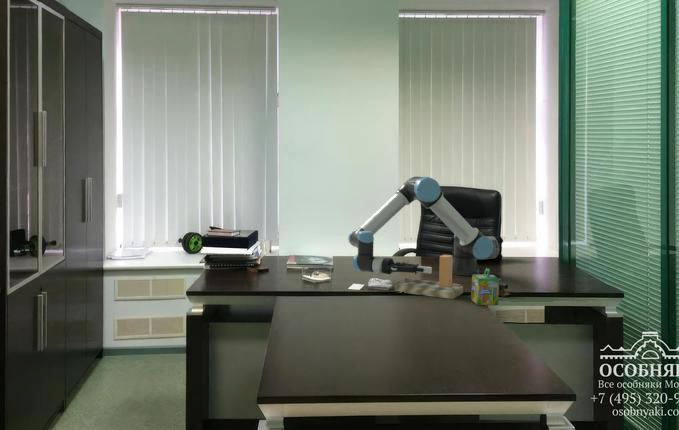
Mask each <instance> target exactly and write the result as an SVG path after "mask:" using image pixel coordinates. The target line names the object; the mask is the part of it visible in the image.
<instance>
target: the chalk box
mask: <svg viewBox="0 0 679 430" xmlns="http://www.w3.org/2000/svg"><path fill="white" fill-rule="evenodd" d="M490 271H491V269H490V268H489V267H486V268H485V270H484V273H483V274H481V273H479V274H472V275H471V292H470V293H471V294H470V301H472V303H474V304H475V305H477V306H499V296H498V294H499V279H500V278H499V277H497V276H496V275H494V274H492V273H491V274H490Z"/></svg>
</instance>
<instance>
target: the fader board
mask: <svg viewBox="0 0 679 430" xmlns="http://www.w3.org/2000/svg"><path fill="white" fill-rule="evenodd" d="M395 291H400V292H399V293H402V292H404V293H403V294H410V295H411V294H412V295H418V296H426V297H427V296H428V297H434V298H443V299H449V300H454V299H456V298H457V297H459V296H460V295H462V294H463V293H464V286H462V285H461V283H452V286H451V287H449V288H448V287H439V281H433V280H425V279H424V280H423V279H417V278H416V279H415V278H404V280H403V281H397V282H396V284H394V292H395Z"/></svg>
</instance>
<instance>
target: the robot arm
mask: <svg viewBox="0 0 679 430" xmlns="http://www.w3.org/2000/svg"><path fill="white" fill-rule="evenodd" d="M414 201H418V203H420V204H421V205H422V206H423V207H424V208H425V209H430V210H431V211H432V213H434V214H435V215H436V216H437V217H438V218H439V219H440V220H441V221H442V222H443V224H444V225H446V227H448V229H449V230H450V231H451V232H452V233H453V234H454V235H453V236H454V259H453V263H452V275H456V276H466V277H467V276H468V277H469V276H470V277H472V274H480V268H479V264H478V260H476V258H477V259H484V260H486V259H485V258H487V257H489V256H490V254H491V253H492V251H493V242H492V240H491V239H490V238H488V237H487V236H486V235H484V234H483V233H482V232H481V231H480V230H479V229H478V228H477V227H473V226H471V224H470V223H469V222H468V221H467V220H465V218H464V217H463V216H462V215H461V214H460V213H459V212H458V211H457V210H456V209H455V208H454V206H453V205H452V204H451V203H450V202H449V201H448V200H447V199H446V198H445V197H444V192H443V190H442V189H441V186H440V184H439V182H438V181H437V180H436V179H434V178H433V177H429V176H413V177H410V178H409V179H407V180H406V181H405V182H404V183H403V184H402V185H401V186H400V187H398V188H397V189H396V190H395V193H394V195H393V196H392V197H390V198H389V200H387V202H386V203H384V205H382V206H381V207H380V208H379V209H378V210H377V211H376V212H375V213H374V214H373V215H371V217H370V218H368V219H367V220H366V221H365V222H364V223H363V224H362V225H361V226H360V227H359V228H358V229H356V230H355V231H354V230H353V231H351V232H350V233H349V234H348V237H347V239H348V243H349V244H351V246H353V247H355V248H357V254H356V255H355V256H353V257H352V262H351V265H352V268H353V269H354V270H355V271H359V272H367V273H376V274H377V275H379V274H384V275H391V274H393V273H412V274H415V275H416V274H417V273H422V274H430V275H431V274H432V273H433V272H432V271H433V268H432V266H423V265H422V266H421V265H420V264H418V263H417V264H413V263H408V262H399V261H396V262H395V261H394V259H393V258H390V257H381V256H380V257H379V256H374V241H375V238H374V235H375V234H376V233H377V232H379V230H380V229H382V228H383V227H384V226H385V225H386V224H387V223H388V222H389V221H390V220H391V219H392V218H394V216H395V215H396V214H398V213H399V212H400V211H401V210H402V209H403V208H404V207H406V206H409V205H410V204H411V203H413V202H414Z"/></svg>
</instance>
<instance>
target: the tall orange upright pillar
mask: <svg viewBox="0 0 679 430" xmlns="http://www.w3.org/2000/svg"><path fill="white" fill-rule="evenodd" d="M452 263H453V255H451V254H441V255H440V256H439V269H438V270H439V271H438V272H439V273H438V275H439V276H438V282H439V287H448V288H449V287H451V286H452V284H453V274H452Z"/></svg>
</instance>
